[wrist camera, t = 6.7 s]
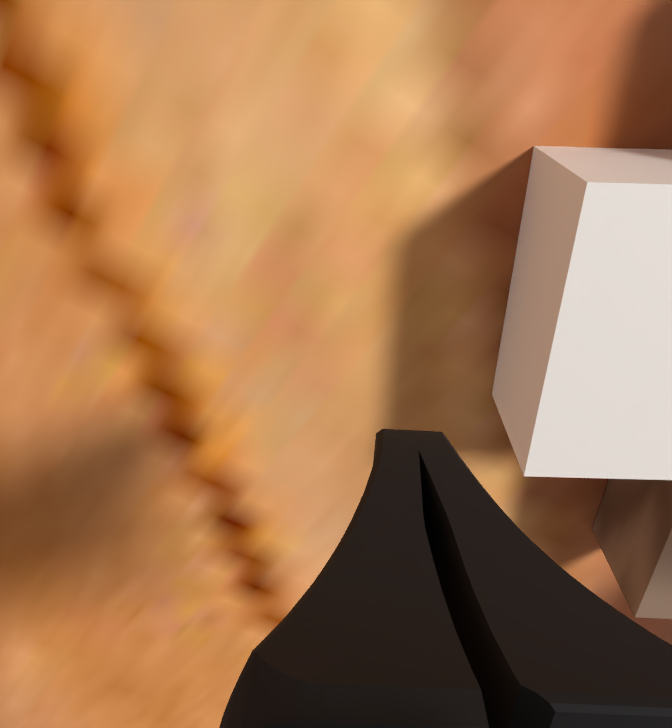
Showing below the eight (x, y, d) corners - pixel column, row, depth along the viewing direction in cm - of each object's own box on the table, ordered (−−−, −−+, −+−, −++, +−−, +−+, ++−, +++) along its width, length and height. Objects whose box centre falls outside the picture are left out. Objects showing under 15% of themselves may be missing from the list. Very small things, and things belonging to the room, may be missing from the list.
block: (622, 395, 24) (684, 480, 19) (490, 392, 24) (524, 476, 19) (693, 149, 19) (794, 187, 15) (532, 144, 19) (587, 182, 15)
